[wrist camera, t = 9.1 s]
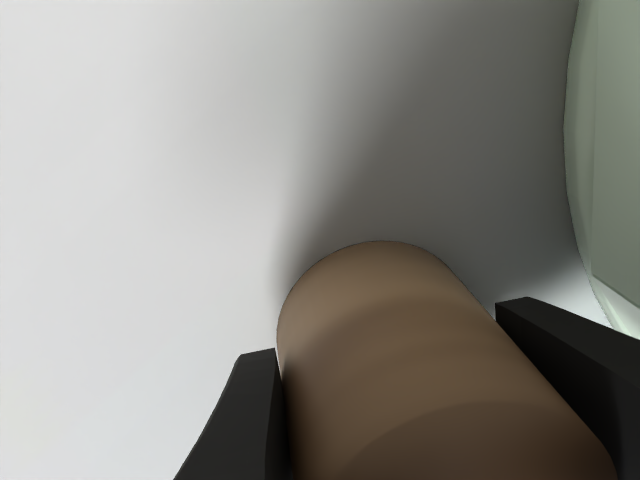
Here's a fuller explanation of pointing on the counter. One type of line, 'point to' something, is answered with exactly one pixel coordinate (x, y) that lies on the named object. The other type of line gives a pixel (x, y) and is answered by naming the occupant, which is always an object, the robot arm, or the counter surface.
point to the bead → (416, 380)
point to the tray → (606, 154)
